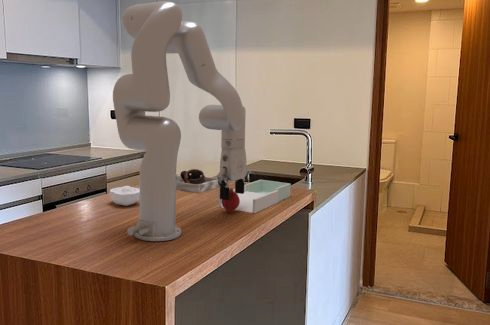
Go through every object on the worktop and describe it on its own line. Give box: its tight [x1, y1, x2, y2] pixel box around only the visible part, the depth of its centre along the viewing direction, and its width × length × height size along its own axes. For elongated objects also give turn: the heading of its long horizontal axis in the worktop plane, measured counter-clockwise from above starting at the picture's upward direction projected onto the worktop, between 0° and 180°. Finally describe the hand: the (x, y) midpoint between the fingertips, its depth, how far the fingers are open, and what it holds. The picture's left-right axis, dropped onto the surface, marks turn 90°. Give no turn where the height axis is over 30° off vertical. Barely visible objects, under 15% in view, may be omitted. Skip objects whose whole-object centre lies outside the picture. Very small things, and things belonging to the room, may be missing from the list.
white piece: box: [218, 185, 279, 214], centre depth 161 cm, size 18×14×6 cm
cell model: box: [109, 185, 140, 207], centre depth 155 cm, size 10×12×7 cm
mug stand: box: [176, 174, 220, 194], centre depth 188 cm, size 17×19×3 cm
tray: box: [244, 179, 292, 203], centre depth 174 cm, size 12×13×5 cm
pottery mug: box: [179, 168, 206, 185], centre depth 189 cm, size 12×10×8 cm
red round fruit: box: [222, 187, 240, 213], centre depth 149 cm, size 6×6×8 cm
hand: (232, 196), depth 150 cm, fingers open, 9 cm apart
